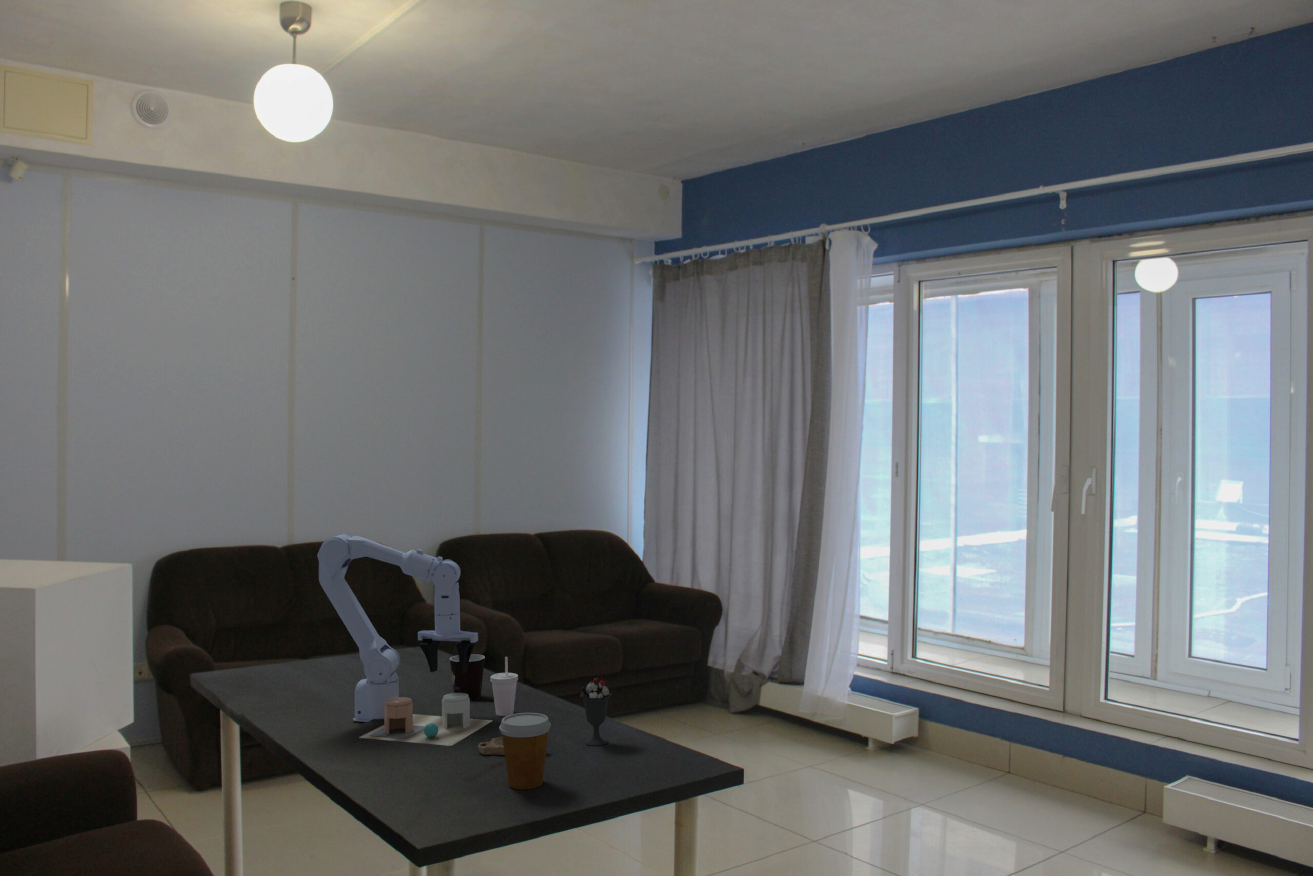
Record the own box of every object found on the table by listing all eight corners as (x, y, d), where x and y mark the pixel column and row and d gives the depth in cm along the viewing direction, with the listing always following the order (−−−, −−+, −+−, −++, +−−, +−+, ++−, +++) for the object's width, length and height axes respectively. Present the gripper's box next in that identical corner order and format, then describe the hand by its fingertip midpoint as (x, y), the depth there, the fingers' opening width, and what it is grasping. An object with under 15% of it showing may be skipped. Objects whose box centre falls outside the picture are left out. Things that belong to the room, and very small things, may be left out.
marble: (421, 739, 207) (421, 724, 207) (428, 735, 210) (428, 721, 210) (433, 740, 206) (433, 725, 206) (441, 736, 209) (440, 722, 209)
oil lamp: (479, 764, 194) (479, 739, 194) (476, 752, 201) (476, 728, 201) (545, 758, 197) (545, 733, 197) (540, 747, 204) (540, 723, 204)
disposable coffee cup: (501, 776, 186) (501, 712, 186) (551, 774, 187) (551, 711, 187) (497, 794, 177) (497, 727, 177) (550, 791, 178) (550, 725, 178)
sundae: (616, 739, 209) (616, 668, 209) (605, 748, 202) (604, 676, 202) (588, 736, 211) (587, 666, 211) (575, 745, 205) (574, 673, 205)
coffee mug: (481, 702, 239) (481, 661, 239) (446, 702, 240) (446, 662, 240) (490, 690, 251) (490, 651, 251) (457, 690, 251) (456, 651, 251)
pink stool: (380, 733, 210) (379, 703, 211) (394, 726, 216) (393, 696, 216) (403, 735, 209) (403, 704, 209) (416, 728, 214) (416, 698, 214)
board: (358, 742, 208) (358, 736, 208) (406, 718, 227) (406, 713, 227) (451, 750, 202) (451, 745, 202) (492, 725, 220) (492, 719, 220)
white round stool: (438, 728, 214) (438, 698, 214) (450, 721, 220) (450, 692, 220) (461, 730, 213) (461, 700, 213) (473, 723, 218) (473, 693, 218)
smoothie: (513, 722, 222) (512, 660, 222) (486, 721, 223) (485, 659, 224) (522, 714, 228) (521, 654, 229) (496, 713, 230) (495, 653, 230)
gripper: (410, 615, 225) (411, 674, 225) (467, 617, 221) (468, 677, 221) (426, 610, 232) (427, 667, 232) (481, 612, 228) (482, 670, 228)
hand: (448, 672), depth 227 cm, fingers open, 7 cm apart
